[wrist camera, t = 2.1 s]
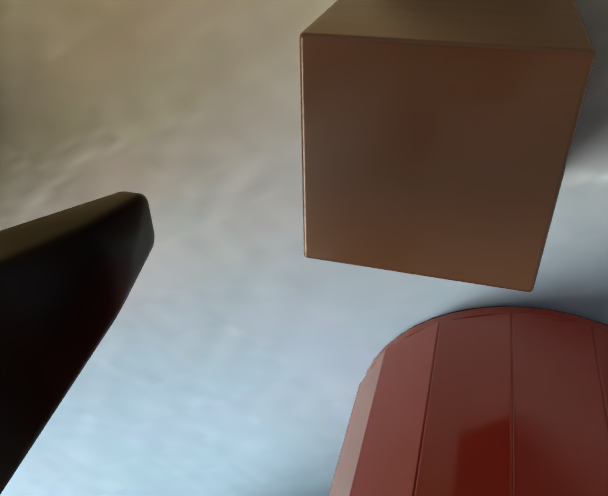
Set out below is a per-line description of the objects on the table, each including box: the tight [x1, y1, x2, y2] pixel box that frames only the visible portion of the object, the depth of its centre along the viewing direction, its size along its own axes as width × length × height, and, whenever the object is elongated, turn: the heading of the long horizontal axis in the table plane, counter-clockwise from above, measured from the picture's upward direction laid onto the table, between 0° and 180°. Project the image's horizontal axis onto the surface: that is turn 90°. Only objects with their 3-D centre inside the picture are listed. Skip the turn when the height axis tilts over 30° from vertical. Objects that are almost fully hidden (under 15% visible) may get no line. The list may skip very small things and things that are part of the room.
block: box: [300, 0, 595, 292], centre depth 13 cm, size 5×5×5 cm
